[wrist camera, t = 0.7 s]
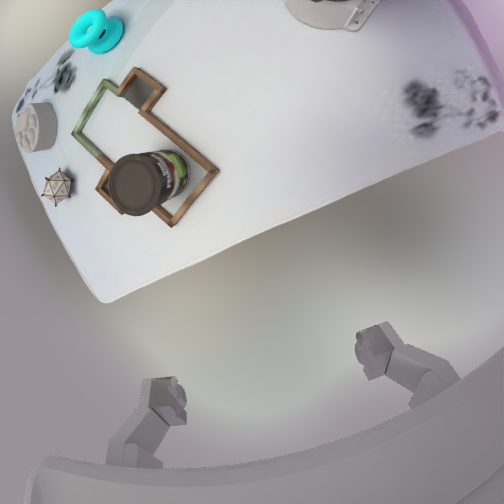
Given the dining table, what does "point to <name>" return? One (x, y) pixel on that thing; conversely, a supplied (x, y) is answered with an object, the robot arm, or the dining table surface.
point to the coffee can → (147, 180)
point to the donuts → (95, 31)
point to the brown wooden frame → (144, 98)
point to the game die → (57, 187)
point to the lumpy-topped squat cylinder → (36, 127)
